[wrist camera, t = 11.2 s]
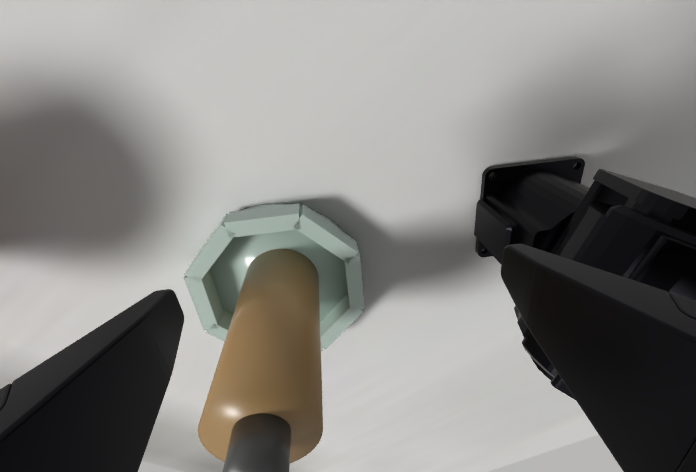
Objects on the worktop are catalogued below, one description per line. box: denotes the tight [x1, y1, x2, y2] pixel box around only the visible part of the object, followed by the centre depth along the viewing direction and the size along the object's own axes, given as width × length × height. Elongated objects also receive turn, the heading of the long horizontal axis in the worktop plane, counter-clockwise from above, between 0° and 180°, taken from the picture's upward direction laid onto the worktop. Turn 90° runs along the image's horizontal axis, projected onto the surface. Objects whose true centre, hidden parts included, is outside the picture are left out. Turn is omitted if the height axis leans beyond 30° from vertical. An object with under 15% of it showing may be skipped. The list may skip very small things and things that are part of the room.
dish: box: [184, 203, 365, 351], centre depth 23 cm, size 11×11×2 cm
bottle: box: [198, 249, 323, 472], centre depth 18 cm, size 5×5×13 cm
